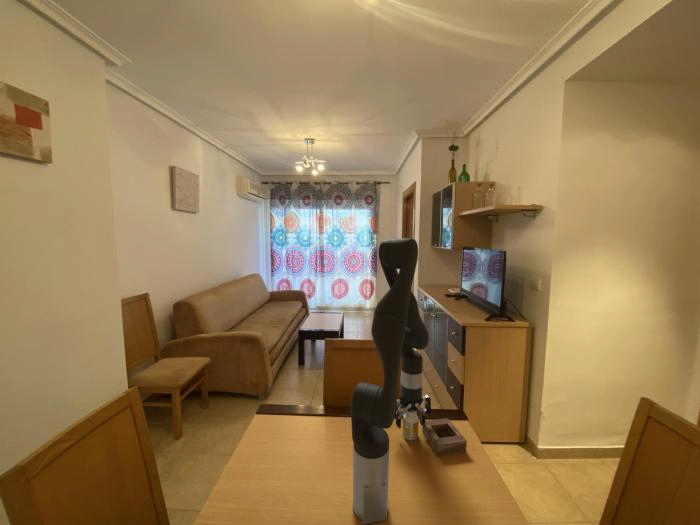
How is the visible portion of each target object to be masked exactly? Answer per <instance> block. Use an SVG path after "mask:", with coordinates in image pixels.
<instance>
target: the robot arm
mask: <svg viewBox="0 0 700 525" xmlns="http://www.w3.org/2000/svg"><path fill="white" fill-rule="evenodd" d="M418 256H419V245H418V243H417V241H416V239H414V238H409V237H405V238H403V237H402V238H400V237H399V238H387V239H383V240H382V241H381V242H380V244H379V247H378V259H379V263H380V266H381V269H382V271H383V274H384V277H385V279H386V281H387V284H388V287H389V289H388V291H387V292H386V293H385V294H384V295H383V297H382V298H381V299H380V300H379V302H378V303H377V305H376V307H375V309H374V314H373V318H372V324H371V331H370V332H371V337H372V340H373V344H374V345H375V348H376V351H377V353H378V355H379V358H380V361H381V365H382V369H383V370H382V371H383V386H381V385H378V384H374V383H369V382H364V381H363V382H362V381H361V382H358V383H357V384H356V386H355V387H354V388H353V391H352V394H351V398H350V418H351V419H350V420H351V422H350V423H351V438H352V443H353V445H352V446H353V447H352V452H353V454H352V509H353V512H354V513H355V516H356V517H357V518H358V519H360V521H361V522H362V525H367V524H368V525H369V524H374V523H375V524H376V523H378V522H385V521H387V520H388V519H387V517H388V516H387V514H388V509H389V474H390V473H389V470H390V469H389V465H390V464H389V462H390V461H389V460H390V438H389V437H390V436H389V434H388V432H387V431H386V430H387V429H388V430H389V429H390V428H391V427H392V426H393V423H394V420H395V425H396V427H397V428H398V429H402V418H403V415H404V414H405V413H406V412H407V411H416V410H417V411H419V416H418V419H419V421H418V423H419V424H420V425H421V426H422V425H424V424H425V421H426V416H427V415H428V414H429V415H430V414H431V413H432V398H431V397H430V396H429V394H424V396H423V387H424V386H423V384H424V383H423V381H424V377H423V376H424V374H423V360H424V359H423V356H422V355H421V354H420V353H419V352H417V351H416V350H420V351H422V350H424V349H425V348H427V346H428V344H429V342H430V336H429V332H428V329H427V327H426V326H425V323H424V322H423V319H422V318H421V316H420V315H421V314H420V310H419V304H418V301H417V298H416V296H415V294H414V293H413V292H412V286H413V281H414V279H415V278H414V277H415V273H416V269H417V264H418V258H419V257H418ZM398 270H399V271H398ZM400 367H401V373H400ZM399 379H400V390H399ZM398 390H399V391H400V393H399V392H398ZM398 393H399V394H400V395H399V399H398ZM423 402H424V408H423V407H422V406H421V405H422V403H423ZM397 408H398V409H397Z"/></svg>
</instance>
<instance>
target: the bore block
mask: <svg viewBox="0 0 700 525" xmlns="http://www.w3.org/2000/svg"><path fill="white" fill-rule="evenodd" d="M421 427H422V430H421V431H422V434H423V435H424V437H425V438H426V440H427V442H428V444H430V446H431V447H432V450H433V451H434V452H435V454H436V456H437V457H442V456H449V455H456V454H462V453H463V454H464V453H467V440H466V438H465V437H464V436H463V435H462V433H461V432H460V430H458V428H457V427H456V426H455V425H454V424H453V422H452V421H451V419H449V417H447V418H440V419H439V418H438V419H437V418H436V419H431V420H429V419H428V420H425V424H424V425H421Z"/></svg>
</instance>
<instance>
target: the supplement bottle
mask: <svg viewBox="0 0 700 525" xmlns="http://www.w3.org/2000/svg"><path fill="white" fill-rule="evenodd" d="M417 411H418V409H417V410H416V411H407V412H406V413H405V414H404V415H403V416H402V435H403V437H404V438H405V439H406V440H409V441H414V440H417V439H418V437H419V416H418V415H417V414H418V412H417Z"/></svg>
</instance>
